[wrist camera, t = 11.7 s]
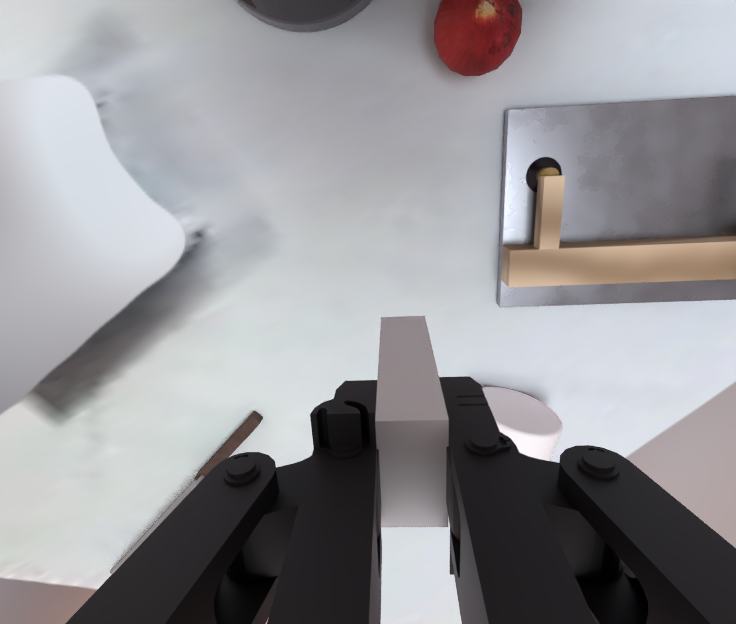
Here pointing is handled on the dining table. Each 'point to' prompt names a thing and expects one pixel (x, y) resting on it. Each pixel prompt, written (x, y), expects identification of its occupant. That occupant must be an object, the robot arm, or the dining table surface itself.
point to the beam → (608, 252)
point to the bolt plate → (622, 187)
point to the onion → (476, 34)
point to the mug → (525, 421)
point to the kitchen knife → (205, 472)
